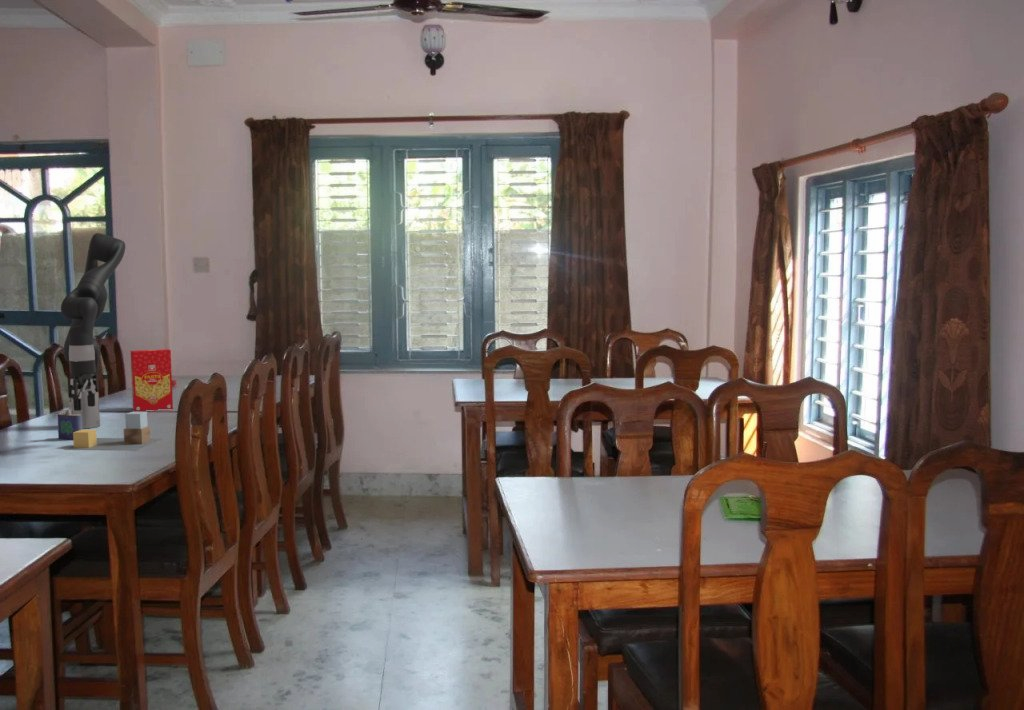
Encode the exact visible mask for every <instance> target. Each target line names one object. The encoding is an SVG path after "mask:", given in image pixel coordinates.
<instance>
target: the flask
mask: <svg viewBox="0 0 1024 710" xmlns="http://www.w3.org/2000/svg"><path fill="white" fill-rule="evenodd" d="M71 411H72V410H71V409H70V410H69V408H68V409H66V408H65V411H64V412H60V413H58V414H57V428H58V429H57V434H58V435H57V436H58V440H64V441H74V440H73V432H76V431H79V430H83V429H82V420H81V419H82V416H81V414H71Z"/></svg>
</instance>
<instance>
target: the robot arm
mask: <svg viewBox="0 0 1024 710" xmlns="http://www.w3.org/2000/svg"><path fill="white" fill-rule="evenodd" d="M125 251H126V243H125V241H124V240H123V239H119V238H117V237H113V236H110V235H107V234H103V233H99V232H97V233H94V234H93V235H92V237H91V238H90V242H89V245H88V250H87V255H86V256H87V257H86V261H85V269H84V272H83V273H84V274H83V275H82V277H81V278H80V280H79V282H78V284H77V286H76V287H75V288H74V289H73V290H71V292H69V293H68V294H67V295H66V296H65V297H64V299H63V300H62V301H61V304H60V312H61V314H62V316H63V317H64V318H65V319H68V320H72V321H71V324H70V327H69V329H68V332H67V334H66V338H65V341H64V344H63V350H62V353H63V357H64V359H65V361H66V362H67V363H69V374H70V375H69V378H68V379H67V388H68V389H67V391H68V395H67V396H68V398H69V399H70V400H71V401H69V402H68V409H69V410H70V409H71V410H72V411H71V414H81V416H82V419H81V420H82V430H85V429H92V428H97V427H98V428H99V427H100V426H101V413H100V398H99V397H100V393H99V391H100V389H99V388H100V387H99V386H100V385H99V371H100V349H99V343H98V340H97V339H96V338H95V337H94V334H93V333H94V327H95V322H96V321H97V320H99V319H100V317H101V316H102V315H103V313H104V311H105V308H106V303H107V301H108V291H107V288H106V285H105V283H106V282H107V281H108V280H109V278H110V277H111V276H112V274H113V273H114V272H115V271H116V269H117V267H119V264H120V263H121V262H122V260H123V258H124V256H125ZM98 262H102V264H101V265H99V263H98Z"/></svg>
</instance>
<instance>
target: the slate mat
mask: <svg viewBox="0 0 1024 710" xmlns="http://www.w3.org/2000/svg"><path fill="white" fill-rule="evenodd" d="M162 440H163V438H157V437H156V438H152V437H150V441H149V442H146V443H144V444H124V437H97V445H95V446H92V447H90V448H74V445H73V446H70V447H67V448H65V449H63V450H64V451H127V452H128V451H129V452H130V451H132V452H133V451H134V452H135V451H140V450H141V449H144V448H145V447H148V446H151V445H152V444H156V443H157V442H160V441H162Z"/></svg>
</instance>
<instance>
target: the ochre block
mask: <svg viewBox="0 0 1024 710" xmlns="http://www.w3.org/2000/svg"><path fill="white" fill-rule="evenodd" d="M97 438H98V437H97V429H82V430H79V431H76V432H73V440H72V441H73V446H74V448H90V447H92V446H95V445H97Z"/></svg>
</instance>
